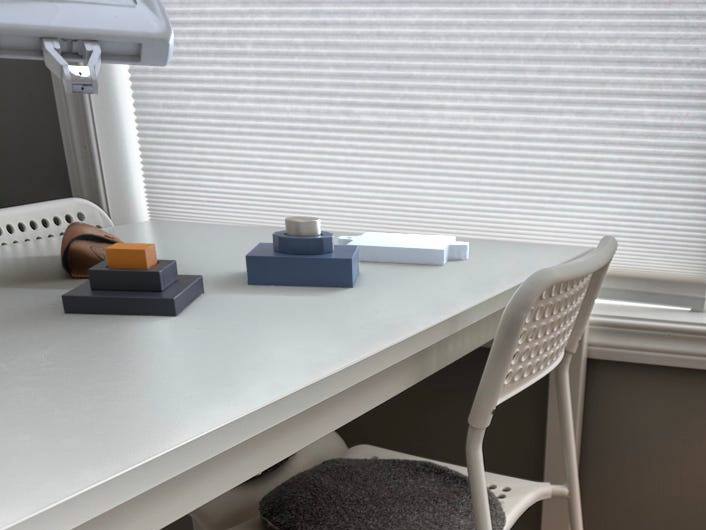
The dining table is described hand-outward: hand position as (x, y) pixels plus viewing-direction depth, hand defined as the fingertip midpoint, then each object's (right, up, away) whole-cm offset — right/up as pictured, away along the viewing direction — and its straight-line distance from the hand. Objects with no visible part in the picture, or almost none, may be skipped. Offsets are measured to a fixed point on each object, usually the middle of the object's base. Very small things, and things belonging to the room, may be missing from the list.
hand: (82, 88), depth 91 cm
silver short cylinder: (+18, -6, +20) cm, 27 cm away
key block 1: (+5, -22, +1) cm, 23 cm away
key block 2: (+17, -10, +22) cm, 30 cm away
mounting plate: (+28, 0, +40) cm, 49 cm away
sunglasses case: (-8, -7, +25) cm, 28 cm away
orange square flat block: (+5, -18, -2) cm, 19 cm away
